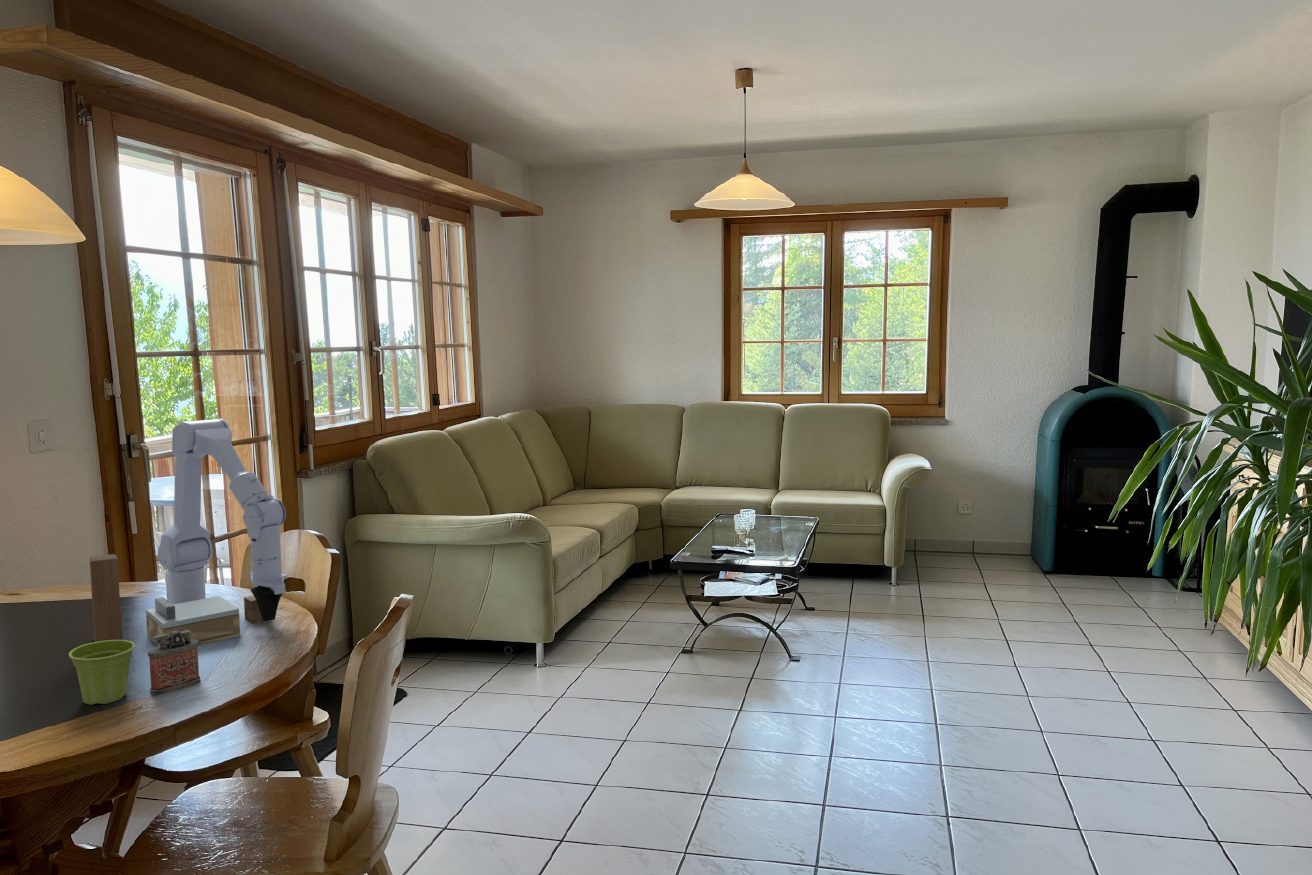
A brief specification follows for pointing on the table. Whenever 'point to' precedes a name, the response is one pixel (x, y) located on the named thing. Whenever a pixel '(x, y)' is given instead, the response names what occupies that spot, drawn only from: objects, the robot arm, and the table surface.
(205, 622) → the brown piece
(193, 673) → the lighter
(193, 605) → the toolbox lid
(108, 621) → the wooden block
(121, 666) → the plant pot
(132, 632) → the table surface
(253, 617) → the small brown block
